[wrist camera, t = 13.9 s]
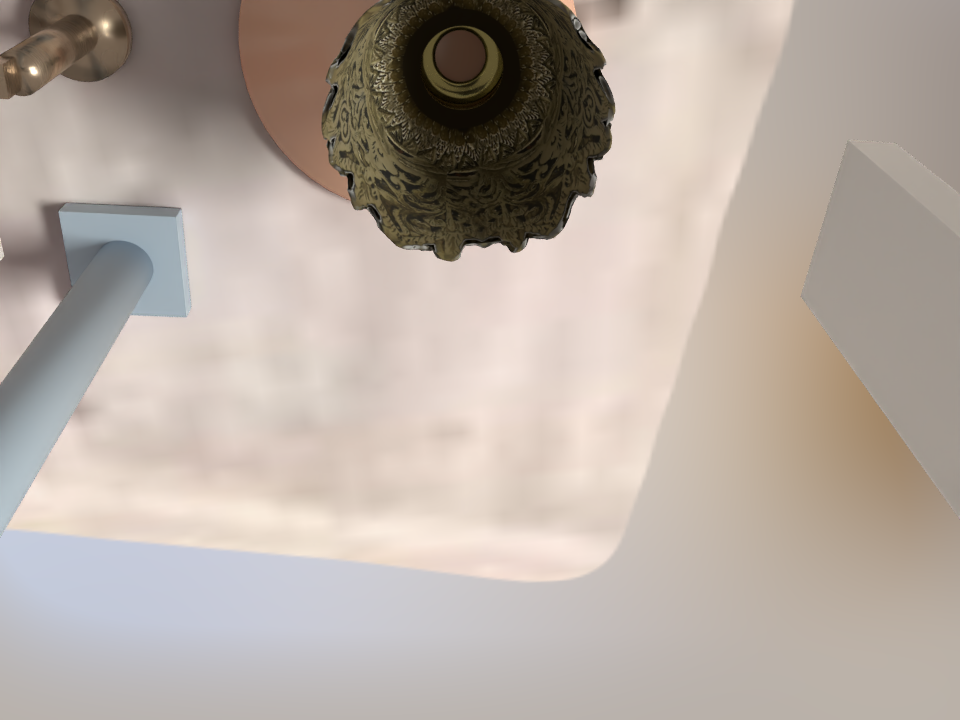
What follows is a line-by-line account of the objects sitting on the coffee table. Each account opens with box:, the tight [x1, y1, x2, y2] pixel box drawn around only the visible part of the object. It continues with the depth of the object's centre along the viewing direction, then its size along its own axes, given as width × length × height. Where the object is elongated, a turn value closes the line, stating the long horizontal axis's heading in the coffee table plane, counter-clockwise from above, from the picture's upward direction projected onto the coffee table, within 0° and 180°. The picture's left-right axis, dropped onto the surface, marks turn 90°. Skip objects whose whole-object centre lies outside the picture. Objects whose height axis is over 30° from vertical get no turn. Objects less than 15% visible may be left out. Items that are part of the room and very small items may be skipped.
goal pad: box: [239, 0, 576, 201], centre depth 30 cm, size 11×11×1 cm
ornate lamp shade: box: [321, 0, 615, 262], centre depth 27 cm, size 8×7×8 cm
